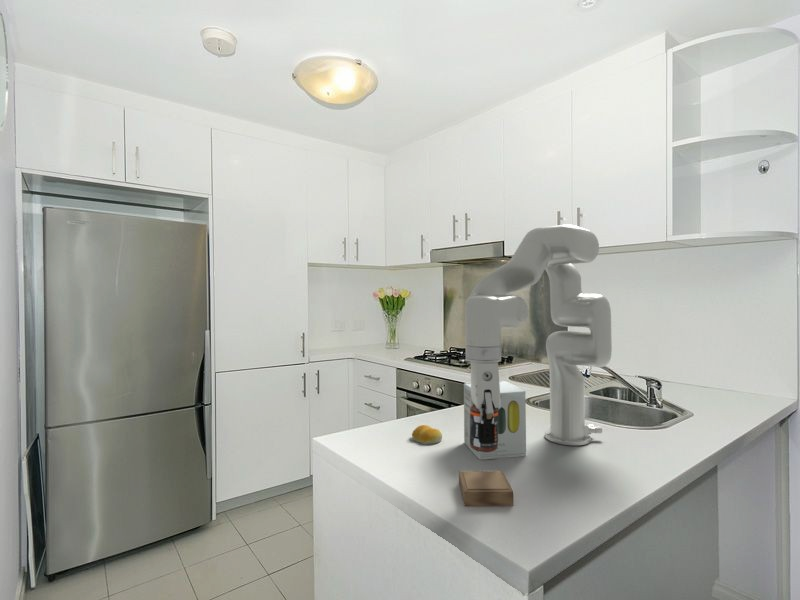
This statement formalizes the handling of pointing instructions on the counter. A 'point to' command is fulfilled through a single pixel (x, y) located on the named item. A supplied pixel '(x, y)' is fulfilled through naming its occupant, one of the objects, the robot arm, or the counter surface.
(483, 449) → the supplement bottle
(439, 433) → the bread roll
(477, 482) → the walnut base
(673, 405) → the counter surface
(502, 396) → the supplement box
